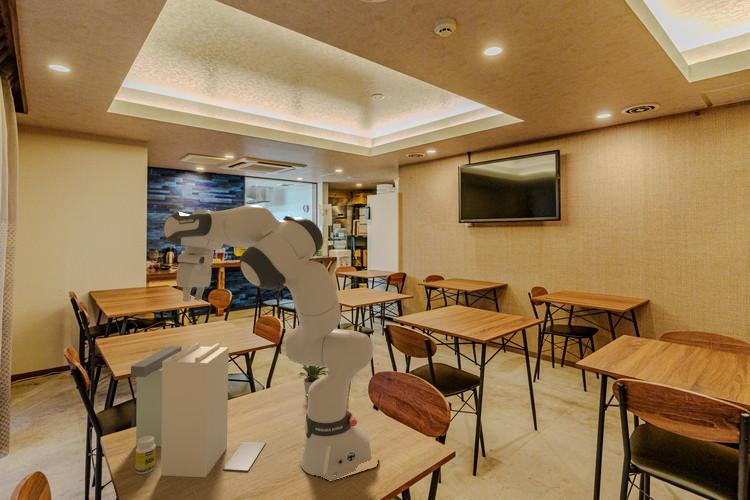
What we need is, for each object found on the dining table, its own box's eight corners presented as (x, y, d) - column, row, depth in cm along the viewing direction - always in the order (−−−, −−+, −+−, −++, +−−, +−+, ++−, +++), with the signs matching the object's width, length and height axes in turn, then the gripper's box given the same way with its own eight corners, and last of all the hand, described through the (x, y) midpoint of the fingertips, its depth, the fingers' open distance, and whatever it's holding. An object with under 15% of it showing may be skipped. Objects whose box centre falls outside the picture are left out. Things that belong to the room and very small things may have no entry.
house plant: (303, 406, 145) (304, 364, 145) (286, 394, 156) (287, 354, 155) (334, 397, 155) (335, 357, 154) (316, 386, 165) (317, 348, 164)
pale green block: (155, 428, 126) (156, 358, 125) (179, 429, 126) (180, 359, 125) (136, 445, 116) (136, 369, 115) (162, 446, 116) (162, 370, 115)
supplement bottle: (146, 475, 102) (146, 445, 101) (130, 473, 103) (131, 442, 102) (159, 465, 107) (159, 435, 106) (145, 462, 107) (145, 433, 107)
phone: (243, 444, 119) (243, 441, 119) (265, 445, 119) (265, 442, 119) (223, 472, 105) (223, 468, 105) (247, 474, 105) (247, 470, 105)
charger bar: (169, 354, 129) (169, 345, 129) (181, 355, 129) (181, 346, 129) (130, 376, 109) (130, 366, 109) (144, 377, 109) (144, 366, 109)
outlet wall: (188, 445, 117) (190, 341, 115) (227, 447, 116) (229, 343, 115) (161, 475, 102) (162, 356, 101) (205, 477, 102) (207, 358, 101)
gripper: (199, 259, 136) (194, 298, 135) (175, 255, 116) (168, 301, 115) (218, 261, 137) (212, 300, 135) (196, 257, 116) (190, 303, 115)
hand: (192, 300), depth 125 cm, fingers open, 8 cm apart
